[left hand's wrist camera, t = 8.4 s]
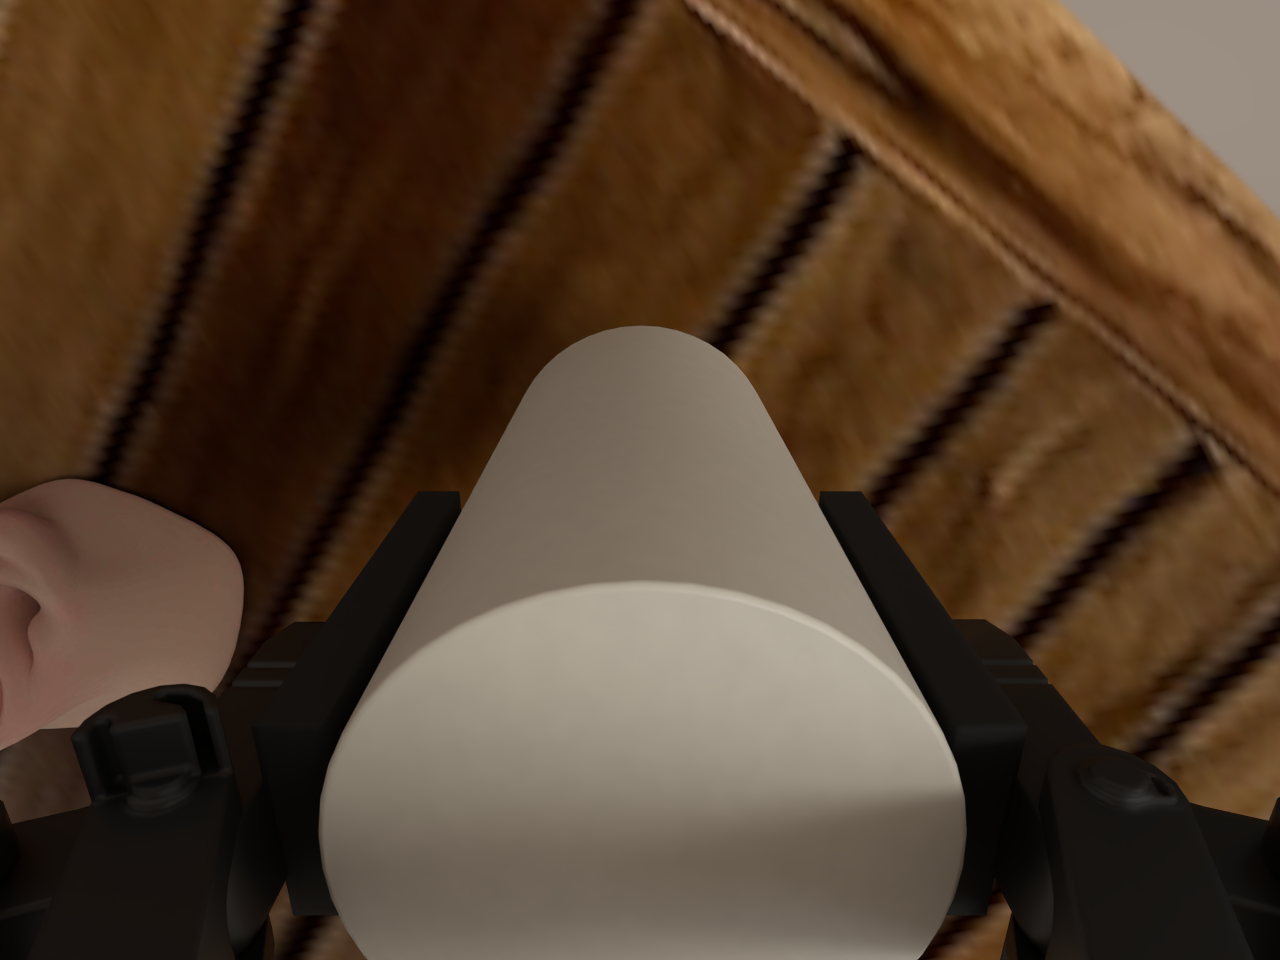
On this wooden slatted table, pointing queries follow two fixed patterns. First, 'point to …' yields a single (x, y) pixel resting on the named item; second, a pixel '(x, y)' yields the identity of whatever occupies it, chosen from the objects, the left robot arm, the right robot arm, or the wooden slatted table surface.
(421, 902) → the cylinder
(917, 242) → the wooden slatted table surface
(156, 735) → the left robot arm
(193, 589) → the anatomical model
